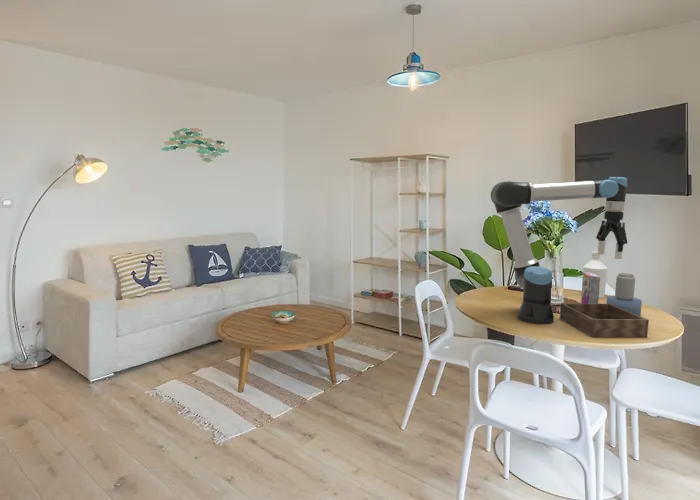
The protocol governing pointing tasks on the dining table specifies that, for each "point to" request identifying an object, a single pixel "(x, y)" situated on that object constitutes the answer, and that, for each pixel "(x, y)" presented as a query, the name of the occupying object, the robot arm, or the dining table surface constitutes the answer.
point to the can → (625, 286)
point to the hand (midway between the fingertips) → (609, 256)
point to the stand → (626, 304)
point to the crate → (604, 320)
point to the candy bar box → (590, 288)
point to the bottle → (597, 271)
